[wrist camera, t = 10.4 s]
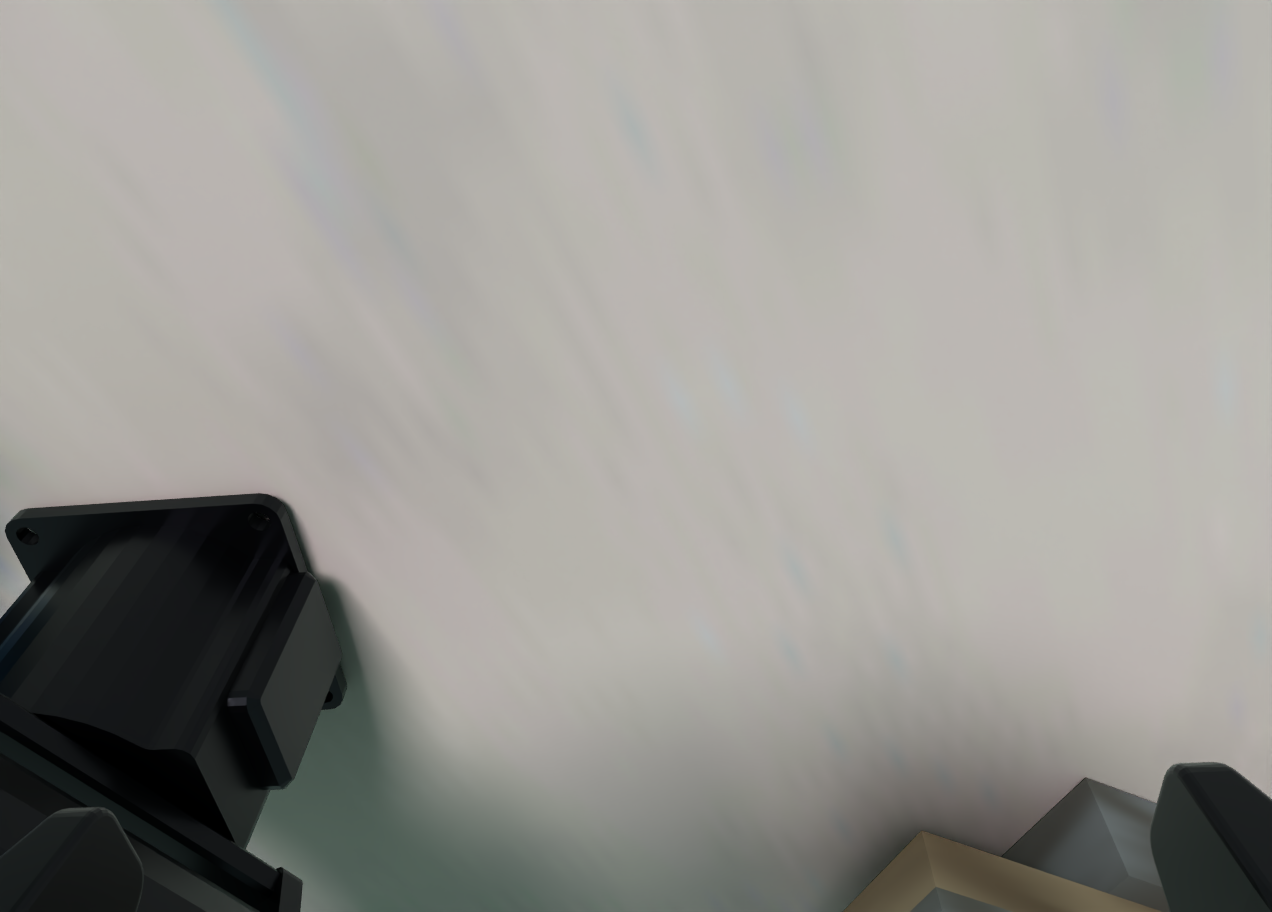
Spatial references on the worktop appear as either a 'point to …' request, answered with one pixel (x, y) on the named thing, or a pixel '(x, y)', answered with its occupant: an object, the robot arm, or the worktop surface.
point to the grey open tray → (1034, 865)
